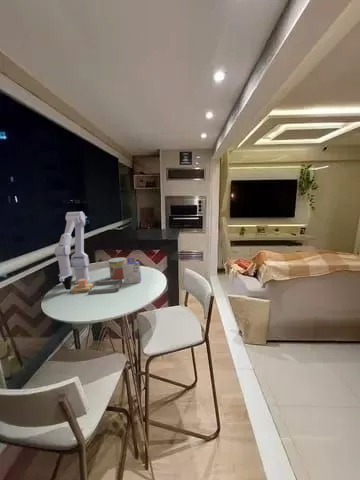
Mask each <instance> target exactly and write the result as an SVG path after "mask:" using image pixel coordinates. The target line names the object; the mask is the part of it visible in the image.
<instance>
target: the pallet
mask: <svg viewBox="0 0 360 480" xmlns="http://www.w3.org/2000/svg"><path fill="white" fill-rule="evenodd" d="M93 289H94V282H93V283H92V282H91V283H88V285H87V286H86V287H84V288H79V287H78V284H75V285H74V286H73V287H72V288H70V293H71V294H78V293H79V294H81V293H88V291H89V290H93Z"/></svg>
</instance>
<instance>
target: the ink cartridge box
mask: <svg viewBox="0 0 360 480" xmlns="http://www.w3.org/2000/svg"><path fill="white" fill-rule="evenodd" d="M122 266H123V275H124V279H123V283H124V284H126V285H127V284H134V283H135V284H136V283H137V284H138V283H141V281H142V274H141V264H140V260H138V261H137V260H135V258H133V257H129V258H128V259H127V262H124V263H123V265H122Z"/></svg>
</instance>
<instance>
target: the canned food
mask: <svg viewBox="0 0 360 480" xmlns="http://www.w3.org/2000/svg"><path fill="white" fill-rule="evenodd" d="M107 262H108V266H109V267H108V268H109V276H110V277H109V278H110V279H109V280H119V279H122V281H124V275H123V266H122V265H123V263H124V262H128V260H127V258H126V257H125V256H123V257H114V258H110V259H108V261H107Z"/></svg>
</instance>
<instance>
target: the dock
mask: <svg viewBox="0 0 360 480" xmlns="http://www.w3.org/2000/svg"><path fill="white" fill-rule="evenodd" d="M94 284H95V285H96V286H97V285H99V286H102V285H103V286H104V285H105V286H107V285H116V286H115V287H106V288H104V287H103V288H93V289H91V290H89V291H88V292H87V294H88V296H89V295H94V294H105V293H118V292H119V291H120V288H121V286H122V285H123V280H122V279H119V280H111V279H108V280H94Z"/></svg>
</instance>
